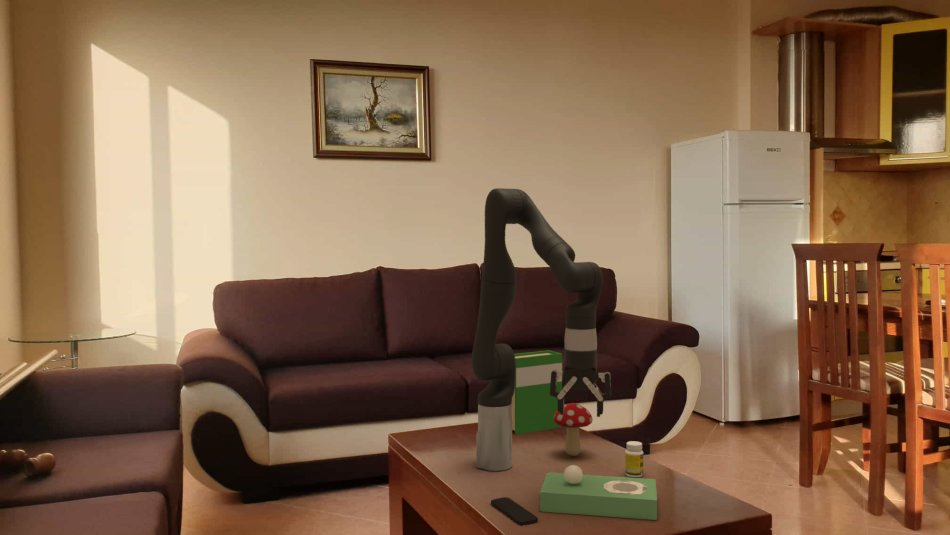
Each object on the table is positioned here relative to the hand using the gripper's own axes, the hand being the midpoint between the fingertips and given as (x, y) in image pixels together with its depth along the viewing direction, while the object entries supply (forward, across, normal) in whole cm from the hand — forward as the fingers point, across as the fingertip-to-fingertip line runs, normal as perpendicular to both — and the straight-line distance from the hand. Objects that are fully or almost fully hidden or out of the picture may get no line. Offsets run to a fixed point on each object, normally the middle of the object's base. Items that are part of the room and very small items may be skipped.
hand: (580, 415), depth 178 cm
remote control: (+21, -14, -11) cm, 28 cm away
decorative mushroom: (+21, -5, +34) cm, 40 cm away
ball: (+14, -2, -2) cm, 14 cm away
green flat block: (+21, +4, -2) cm, 21 cm away
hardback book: (+21, -21, +61) cm, 68 cm away
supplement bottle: (+21, +12, +22) cm, 32 cm away
